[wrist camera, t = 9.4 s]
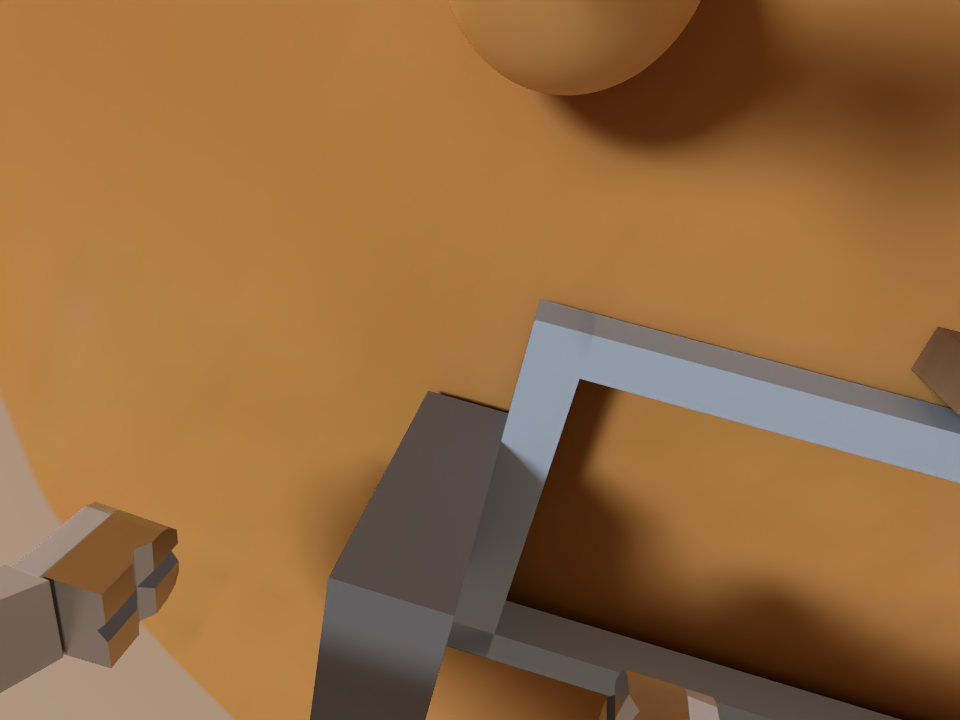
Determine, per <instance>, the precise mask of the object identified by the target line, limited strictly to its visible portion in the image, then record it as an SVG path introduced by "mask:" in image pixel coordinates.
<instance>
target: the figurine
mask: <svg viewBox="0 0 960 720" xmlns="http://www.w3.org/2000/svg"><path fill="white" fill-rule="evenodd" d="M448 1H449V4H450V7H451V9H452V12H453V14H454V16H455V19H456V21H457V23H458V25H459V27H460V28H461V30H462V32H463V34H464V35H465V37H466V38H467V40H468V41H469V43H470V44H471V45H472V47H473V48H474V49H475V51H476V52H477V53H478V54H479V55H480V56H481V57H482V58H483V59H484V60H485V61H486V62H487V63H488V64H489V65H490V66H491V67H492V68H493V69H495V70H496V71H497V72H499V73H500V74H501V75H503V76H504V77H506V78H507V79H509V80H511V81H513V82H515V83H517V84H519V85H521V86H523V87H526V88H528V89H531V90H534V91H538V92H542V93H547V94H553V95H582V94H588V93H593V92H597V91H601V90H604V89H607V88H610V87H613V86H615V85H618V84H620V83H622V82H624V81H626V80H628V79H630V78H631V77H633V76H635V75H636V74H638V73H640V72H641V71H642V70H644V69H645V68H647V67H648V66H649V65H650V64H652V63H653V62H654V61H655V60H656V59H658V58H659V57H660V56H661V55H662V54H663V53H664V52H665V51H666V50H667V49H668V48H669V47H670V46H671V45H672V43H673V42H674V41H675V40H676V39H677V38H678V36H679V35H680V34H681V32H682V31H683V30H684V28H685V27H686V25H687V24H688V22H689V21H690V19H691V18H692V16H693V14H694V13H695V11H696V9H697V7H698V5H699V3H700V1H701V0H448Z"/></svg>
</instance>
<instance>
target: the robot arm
mask: <svg viewBox="0 0 960 720" xmlns="http://www.w3.org/2000/svg"><path fill="white" fill-rule="evenodd" d="M177 544H178V539H177V530H176V529H173V528H170V527H167V526H164V525H162V524H159V523H156V522H153V521H150V520H147V519H144V518H141V517H138V516H136V515H133V514H130V513H127V512H124V511H121V510H118V509H115V508H112V507H109V506H106V505H103V504H100V503H97V502H95V503H92V504H90V505H87V506H85V507H83V508H82V509H81V510H80V511H79V512H77V513H76V514H75V515H74V516H73V517H71V518H70V519H69V520H68V521H67V522H65V523H64V524H63V525H62V526H61V527H60V528H58V529H57V530H56V531H55V532H54V533H52V534H51V535H50V536H49V537H48V538H47V539H45V540H44V541H43V542H42V543H41V544H39V545H38V546H37V547H36V548H35V549H33V550H32V551H31V552H30V553H29V554H27V555H26V556H25V557H24V558H23V559H22V560H21V561H19V562H18V563H17V564H16V565H14V566H13V567H8V566H5V565H3V566H0V693H1V692H3V691H4V690H6V689H8V688H10V687H11V686H13V685H15V684H17V683H18V682H20V681H22V680H24V679H26V678H27V677H29V676H31V675H33V674H34V673H36V672H38V671H40V670H42V669H43V668H45V667H47V666H48V665H50V664H52V663H54V662H56V661H57V660H59V659H61V658H63V654H66V655H69V656H72V657H76V658H79V659H82V660H85V661H89V662H92V663H95V664H99V665H102V666H106V667H109V668H112V667H113V665H114V664H115V663H116V662H117V661H118V659H119V658H120V657H121V656H122V655H123V653H124V652H125V651H126V650H127V649H128V647H129V646H130V645H131V644H132V642H133V641H134V640H135V639H136V638H137V636H138V635H139V621H141V620H143V619H145V618H147V617H150V616H152V615H154V614H156V613H157V612H158V611H159V609H160V608H161V607H162V606H163V604H164V603H165V602H166V601H167V599H168V597H169V595H170V593H171V592H172V590H173V588H174V586H175V584H176V580H177V576H178V572H179V561H178V560H177V558H176V557H175V555H174V554H173V553H172V551H171V550H172V549H173V548H174V547H175V546H176V545H177ZM599 720H720V718H719V712H718V707H717V703H716V702H715V700H714V698H713V697H711V696H708V695H704V694H701V693H698V692H695V691H691V690H688V689H685V688H681V687H680V686H678V685H675V684H671V683H668V682H665V681H661V680H658V679H655V678H651V677H648V676H644V675H641V674H638V673H634V672H631V671H628V670H623V671H622V672H620V674H619V676H618V677H617V679H616V681H615V695H613V696H610V697H608V698H606V701H605V703H604V705H603V707H602V709H601V712H600V716H599Z"/></svg>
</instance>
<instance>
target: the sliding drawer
mask: <svg viewBox="0 0 960 720" xmlns="http://www.w3.org/2000/svg"><path fill="white" fill-rule="evenodd" d="M579 379H583V380H586V381H590V382H593V383H597V384H601V385H604V386H608V387H612V388H615V389H619V390H623V391H626V392H630V393H634V394H637V395H641V396H644V397H648V398H652V399H655V400H659V401H663V402H666V403H670V404H674V405H677V406H681V407H685V408H688V409H692V410H695V411H699V412H703V413H706V414H710V415H714V416H717V417H721V418H725V419H728V420H732V421H735V422H739V423H743V424H746V425H750V426H754V427H757V428H761V429H765V430H768V431H772V432H776V433H779V434H783V435H786V436H790V437H794V438H797V439H801V440H805V441H808V442H812V443H816V444H819V445H823V446H827V447H830V448H834V449H837V450H841V451H845V452H848V453H852V454H856V455H859V456H863V457H867V458H870V459H874V460H877V461H881V462H885V463H888V464H892V465H896V466H899V467H903V468H907V469H910V470H914V471H918V472H921V473H925V474H928V475H932V476H936V477H939V478H943V479H947V480H950V481H954V482H958V483H960V414H957V413H956V412H955V411H954V410H953V409H950V408H946V407H943V406H939V405H935V404H931V403H928V402H924V401H920V400H916V399H913V398H909V397H905V396H901V395H898V394H894V393H890V392H886V391H883V390H879V389H875V388H871V387H868V386H864V385H860V384H856V383H853V382H849V381H845V380H841V379H838V378H834V377H830V376H826V375H823V374H819V373H815V372H812V371H808V370H804V369H800V368H797V367H793V366H789V365H785V364H782V363H778V362H774V361H770V360H767V359H763V358H759V357H755V356H752V355H748V354H744V353H740V352H737V351H733V350H729V349H725V348H722V347H718V346H714V345H710V344H707V343H703V342H699V341H695V340H692V339H688V338H684V337H680V336H677V335H673V334H669V333H665V332H662V331H658V330H654V329H650V328H647V327H643V326H639V325H635V324H632V323H628V322H624V321H621V320H617V319H613V318H609V317H606V316H602V315H598V314H594V313H591V312H587V311H583V310H579V309H576V308H572V307H568V306H564V305H561V304H557V303H553V302H549V301H546V300H542V299H540V302H539V306H538V309H537V313H536V316H535V320H534V324H533V327H532V331H531V334H530V338H529V342H528V345H527V349H526V352H525V356H524V360H523V363H522V367H521V370H520V374H519V378H518V381H517V385H516V388H515V392H514V396H513V399H512V403H511V406H510V410H509V413H505V412H502V411H498V410H495V409H491V408H487V407H484V406H480V405H477V404H473V403H470V402H466V401H463V400H459V399H455V398H452V397H448V396H445V395H441V394H438V393H434V392H430V391H428V393H427V394H426V396H425V398H424V400H423V402H422V404H421V406H420V408H419V409H418V411H417V413H416V415H415V417H414V419H413V421H412V423H411V424H410V426H409V428H408V430H407V432H406V434H405V436H404V438H403V439H402V441H401V443H400V445H399V447H398V449H397V451H396V453H395V454H394V456H393V458H392V460H391V462H390V464H389V466H388V468H387V469H386V471H385V473H384V475H383V477H382V479H381V481H380V482H379V484H378V486H377V488H376V490H375V492H374V494H373V496H372V497H371V499H370V501H369V503H368V505H367V507H366V509H365V511H364V512H363V514H362V516H361V518H360V520H359V522H358V524H357V526H356V527H355V529H354V531H353V533H352V535H351V537H350V539H349V541H348V542H347V544H346V546H345V548H344V550H343V552H342V554H341V555H340V557H339V559H338V561H337V563H336V565H335V567H334V569H333V570H332V572H331V574H330V576H329V579H328V587H327V594H326V602H325V610H324V617H323V625H322V632H321V640H320V648H319V655H318V663H317V671H316V678H315V686H314V694H313V701H312V709H311V716H310V720H425V719H426V715H427V712H428V708H429V705H430V701H431V698H432V694H433V690H434V687H435V683H436V680H437V676H438V673H439V669H440V665H441V662H442V658H443V655H444V651H445V648H446V646H449V647H452V648H455V649H458V650H462V651H465V652H468V653H471V654H474V655H478V656H481V657H484V658H487V659H491V660H494V661H497V662H500V663H504V664H507V665H510V666H513V667H517V668H520V669H523V670H526V671H530V672H533V673H536V674H539V675H543V676H546V677H549V678H552V679H555V680H559V681H562V682H565V683H568V684H572V685H575V686H578V687H581V688H585V689H588V690H591V691H594V692H598V693H601V694H604V695H607V696H613V695H615V681H616V679H617V677H618V676H619V674H620V672H622V671H623V670H628V671H631V672H634V673H638V674H641V675H644V676H648V677H651V678H655V679H658V680H661V681H665V682H668V683H671V684H675V685H678V686H680V687H681V688H685V689H688V690H691V691H695V692H698V693H701V694H704V695H708V696H711V697H713V698H714V700H715V702H716V703H717V707H718V712H719V718H720V720H901V719H897V718H894V717H891V716H887V715H884V714H881V713H877V712H874V711H871V710H867V709H864V708H861V707H857V706H854V705H851V704H848V703H844V702H841V701H838V700H834V699H831V698H828V697H824V696H821V695H818V694H814V693H811V692H808V691H804V690H801V689H798V688H794V687H791V686H788V685H785V684H781V683H778V682H775V681H771V680H768V679H765V678H761V677H758V676H755V675H751V674H748V673H745V672H741V671H738V670H735V669H731V668H728V667H725V666H722V665H718V664H715V663H712V662H708V661H705V660H702V659H698V658H695V657H692V656H688V655H685V654H682V653H678V652H675V651H672V650H668V649H665V648H662V647H659V646H655V645H652V644H649V643H645V642H642V641H639V640H635V639H632V638H629V637H625V636H622V635H619V634H615V633H612V632H609V631H605V630H602V629H599V628H596V627H592V626H589V625H586V624H582V623H579V622H576V621H572V620H569V619H566V618H562V617H559V616H556V615H552V614H549V613H546V612H542V611H539V610H536V609H532V608H529V607H526V606H523V605H519V604H516V603H513V602H509V601H506V598H507V595H508V592H509V589H510V586H511V583H512V580H513V577H514V574H515V571H516V568H517V565H518V562H519V559H520V556H521V553H522V550H523V547H524V544H525V541H526V538H527V535H528V532H529V529H530V526H531V523H532V520H533V517H534V514H535V511H536V508H537V505H538V502H539V499H540V496H541V493H542V490H543V487H544V484H545V481H546V478H547V475H548V472H549V469H550V466H551V463H552V460H553V457H554V454H555V451H556V448H557V445H558V442H559V439H560V436H561V433H562V430H563V427H564V424H565V421H566V418H567V415H568V412H569V409H570V406H571V403H572V400H573V397H574V394H575V391H576V388H577V385H578V382H579Z"/></svg>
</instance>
